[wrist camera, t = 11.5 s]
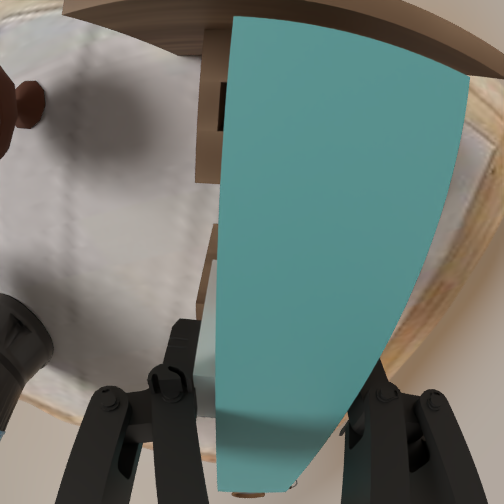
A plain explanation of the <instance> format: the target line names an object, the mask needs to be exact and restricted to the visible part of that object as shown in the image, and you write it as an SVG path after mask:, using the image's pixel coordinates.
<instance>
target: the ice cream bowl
mask: <svg viewBox="0 0 504 504" xmlns="http://www.w3.org/2000/svg"><path fill="white" fill-rule="evenodd" d="M44 108H45V98H44V90H43V89H42V88H41V86H40V85H39V84H38V83H37V82H36V81H24V82H23V83H21V84H20V85H19V86H18V87H17V88H16V89H15V84H14V83H13V82H12V80H11V79H10V78H9V77H8V75H7V74H6V73H5V71H4V70H3V69H2V67H1V66H0V159H1V158H2V157H3V156H4V155H5V153H6V152H7V150H8V149H9V147H10V143H11V139H12V135H13V131H14V128H15V125H16V127H17V128H26V129H31V128H32V127H33V126H34V125H35V124H36V123H38V122H39V121H40V119H41V116H42V113H43V111H44Z"/></svg>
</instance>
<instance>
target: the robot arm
mask: <svg viewBox="0 0 504 504" xmlns="http://www.w3.org/2000/svg"><path fill="white" fill-rule="evenodd" d="M216 281H217V260H213V261H212V266H211V271H210V277H209V282H208V288H207V293H206V299H205V304H204V310H203V316H202V320H191V319H179V320H178V321H177V322H176V323H175V324H174V326H173V327H172V330H171V334H170V339H169V342H168V347H167V350H166V353H165V357H164V362H163V364H160V365H158V366H156V367H154V368H153V369H152V370H151V372H150V373H149V375H148V379H147V381H148V384H149V389H147V390H144V391H139V392H130V393H125V392H124V391H123V390H122V389H120V388H118V387H116V386H105V387H101V388H100V389H98V390H97V391H95V393H94V394H93V396H92V397H91V400H90V402H89V405H88V407H87V410H86V413H85V415H84V418H83V420H82V423H81V426H80V429H79V431H78V434H77V437H76V439H75V442H74V445H73V448H72V451H71V454H70V457H69V459H68V462H67V466H66V469H65V472H64V475H63V478H62V481H61V484H60V488H59V491H58V495H57V498H56V502H55V504H129V501H130V497H131V492H132V488H133V483H134V479H135V474H136V470H137V466H138V461H139V457H140V453H141V449H142V445H143V443H146V442H153V451H154V466H155V478H156V488H157V498H158V504H209V501H208V496H207V490H206V485H205V478H204V473H203V467H202V460H201V454H200V447H199V440H198V433H197V426H196V418H197V416H200V417H211V418H216V406H215V336H216ZM52 354H53V344H52V341H51V338H50V336H49V334H48V332H47V331H46V329H45V328H44V326H43V325H42V324H41V322H40V321H39V320H38V319H37V318H36V317H35V316H34V315H33V313H31V312H30V311H29V310H28V309H27V308H26V307H25V306H24V305H22V304H21V303H20V302H18V301H17V300H15V299H13V298H11V297H9V296H7V295H4V294H0V440H1V438H2V436H3V435H4V434H5V429H6V427H7V424H8V422H9V419H10V417H11V415H12V413H13V410H14V408H15V406H16V403H17V401H18V399H19V397H20V395H21V392H22V390H23V388H24V386H25V384H26V383H27V382H28V381H29V380H30V379H31V378H32V377H33V376H34V375H35V374H36V373H37V372H38V370H39V369H41V368H43V367H45V366H46V365H47V363H48V362H49V360H50V358H51V356H52ZM347 412H348V417H349V420H348V421H347V423H346V424H345V426H344V427H343V428H342V430H341V431H340V436H342V435H343V434H344V432H345V452H344V453H345V454H344V472H343V485H342V497H341V504H488V502H487V499H486V496H485V493H484V490H483V487H482V484H481V481H480V478H479V475H478V472H477V469H476V467H475V464H474V461H473V459H472V456H471V454H470V451H469V449H468V446H467V444H466V441H465V439H464V436H463V434H462V432H461V429H460V427H459V425H458V423H457V420H456V418H455V416H454V413H453V411H452V409H451V407H450V405H449V403H448V401H447V399H446V397H445V396H444V394H442V393H441V392H439V391H437V390H434V389H429V390H426V391H424V393H423V394H422V395H421V396H416V395H409V394H405V393H401V392H400V390H399V389H398V388H397V386H396V385H394V384H393V383H391V382H389V381H388V379H387V376H386V374H385V371H384V368H383V365H382V363H381V360H380V357H379V359H378V361H377V363H376V365H375V366H374V368H373V370H372V372H371V373H370V375H369V377H368V379H367V380H366V382H365V384H364V385H363V387H362V389H361V390H360V392H359V393H358V395H357V397H356V398H355V400H354V401H353V403H352V405H351V406H350V408H349V409H348V411H347Z"/></svg>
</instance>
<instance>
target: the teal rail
mask: <svg viewBox="0 0 504 504" xmlns="http://www.w3.org/2000/svg"><path fill="white" fill-rule="evenodd" d="M469 81H470V77H469V76H467V75H465V74H463V73H460V72H458V71H456V70H454V69H452V68H450V67H448V66H445V65H443V64H441V63H439V62H436V61H434V60H432V59H429V58H427V57H424V56H422V55H419V54H416V53H414V52H411V51H408V50H406V49H403V48H400V47H397V46H394V45H391V44H388V43H385V42H381V41H378V40H375V39H371V38H368V37H364V36H361V35H357V34H353V33H349V32H345V31H340V30H336V29H331V28H326V27H321V26H316V25H311V24H305V23H298V22H292V21H284V20H276V19H267V18H255V17H241V16H234V17H233V27H232V37H231V47H230V57H229V68H228V80H227V92H226V104H225V118H224V132H223V147H222V163H221V181H220V200H219V222H218V248H217V281H216V336H215V406H216V457H217V484H218V485H217V486H218V491H223V492H248V493H265V492H266V493H267V492H286V491H287V490H288V489H289V488H290V486H291V485H292V484H293V483H294V482H295V481H296V479H297V478H298V477H299V475H301V473H302V472H303V471H304V470H305V468H306V467H307V466H308V465H309V463H310V462H311V461H312V460H313V458H314V457H315V456H316V454H317V453H318V452H319V450H320V449H321V448H322V446H323V445H324V444H325V442H326V441H327V439H328V438H329V437H330V435H331V434H332V433H333V431H334V430H335V428H336V427H337V426H338V424H339V423H340V421H341V420H342V418H343V417H344V415H345V414H346V412H347V411H348V409H349V408H350V406H351V405H352V403H353V401H354V400H355V398H356V397H357V395H358V393H359V392H360V390H361V389H362V387H363V385H364V384H365V382H366V380H367V379H368V377H369V375H370V373H371V372H372V370H373V368H374V366H375V365H376V363H377V361H378V359H379V357H380V356H381V354H382V352H383V350H384V348H385V346H386V344H387V343H388V341H389V339H390V337H391V335H392V333H393V331H394V329H395V327H396V325H397V323H398V321H399V319H400V317H401V314H402V312H403V310H404V308H405V306H406V304H407V302H408V299H409V297H410V295H411V293H412V290H413V288H414V286H415V283H416V281H417V279H418V276H419V274H420V271H421V269H422V266H423V264H424V261H425V259H426V256H427V253H428V251H429V248H430V245H431V242H432V240H433V237H434V234H435V231H436V228H437V225H438V222H439V219H440V216H441V213H442V210H443V206H444V203H445V200H446V196H447V193H448V189H449V186H450V182H451V178H452V174H453V170H454V166H455V162H456V158H457V153H458V149H459V144H460V139H461V134H462V129H463V123H464V118H465V111H466V105H467V98H468V90H469Z"/></svg>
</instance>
